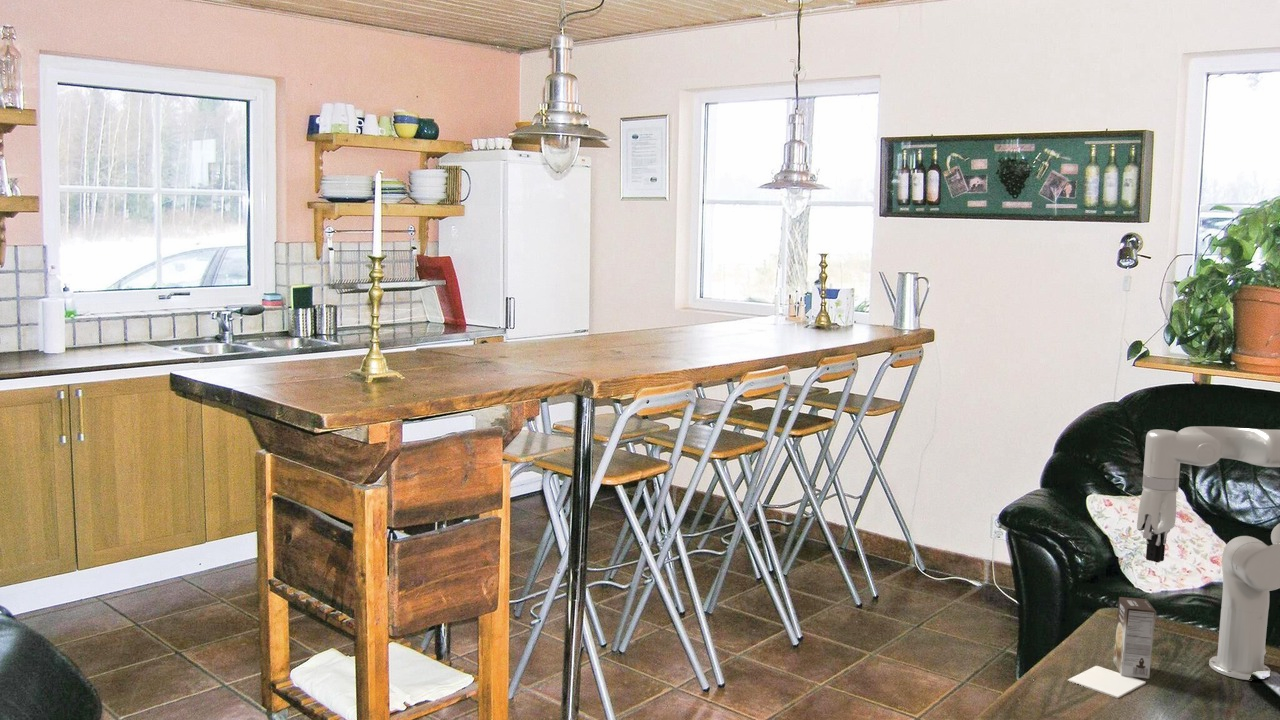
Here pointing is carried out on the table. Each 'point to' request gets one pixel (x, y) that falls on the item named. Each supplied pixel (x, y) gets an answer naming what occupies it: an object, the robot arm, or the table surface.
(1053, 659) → the table surface
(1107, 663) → the table surface
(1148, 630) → the coffee box
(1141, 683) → the mat
